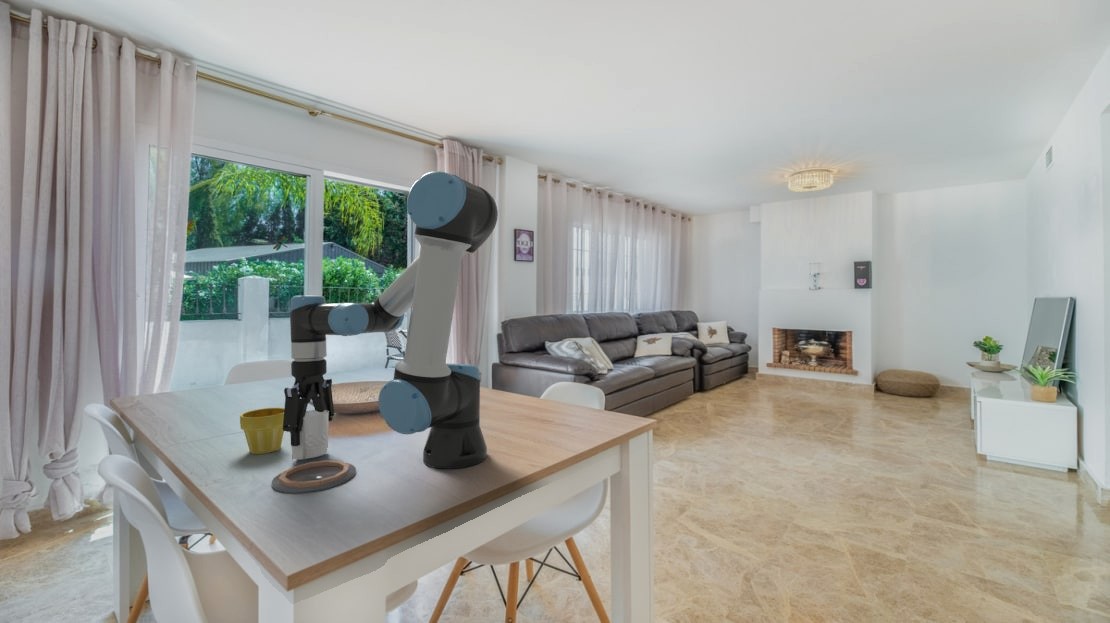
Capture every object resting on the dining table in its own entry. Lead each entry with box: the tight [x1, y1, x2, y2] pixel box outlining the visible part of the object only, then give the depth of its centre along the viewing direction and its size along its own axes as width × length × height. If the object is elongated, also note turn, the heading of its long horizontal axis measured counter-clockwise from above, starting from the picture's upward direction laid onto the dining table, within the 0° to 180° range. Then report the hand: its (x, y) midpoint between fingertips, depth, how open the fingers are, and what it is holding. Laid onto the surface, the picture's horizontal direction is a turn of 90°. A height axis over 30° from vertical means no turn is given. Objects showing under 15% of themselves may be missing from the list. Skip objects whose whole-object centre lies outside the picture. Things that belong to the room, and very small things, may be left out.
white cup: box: [296, 409, 329, 460], centre depth 110 cm, size 8×8×10 cm
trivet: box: [271, 459, 357, 494], centre depth 98 cm, size 16×16×1 cm
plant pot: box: [239, 407, 285, 455], centre depth 115 cm, size 10×10×10 cm
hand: (310, 452), depth 110 cm, fingers closed on white cup, 7 cm apart
